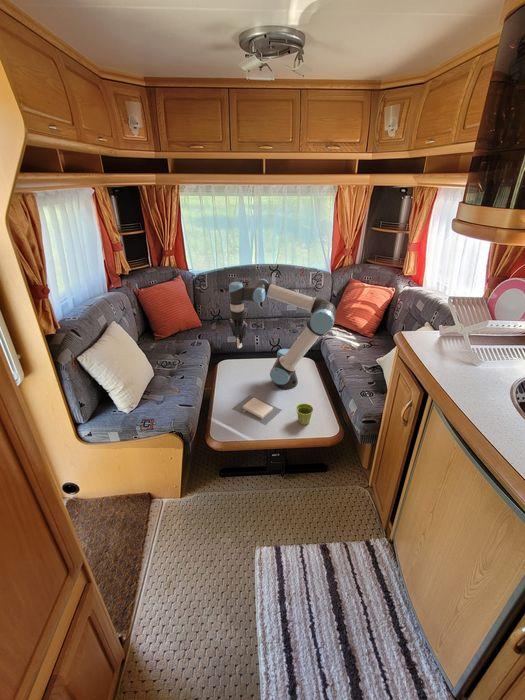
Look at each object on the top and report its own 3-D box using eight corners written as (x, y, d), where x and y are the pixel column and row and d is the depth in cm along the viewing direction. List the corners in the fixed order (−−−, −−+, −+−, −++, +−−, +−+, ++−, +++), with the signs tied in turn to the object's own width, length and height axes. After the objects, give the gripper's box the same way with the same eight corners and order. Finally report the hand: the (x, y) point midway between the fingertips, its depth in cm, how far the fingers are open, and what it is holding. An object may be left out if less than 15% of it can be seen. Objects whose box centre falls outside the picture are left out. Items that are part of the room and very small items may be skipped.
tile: (242, 406, 195) (262, 416, 188) (253, 397, 202) (273, 407, 195) (242, 408, 196) (262, 419, 189) (253, 399, 203) (273, 410, 196)
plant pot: (294, 415, 194) (295, 403, 189) (311, 415, 193) (312, 403, 189) (295, 426, 185) (296, 414, 181) (313, 427, 185) (314, 414, 181)
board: (231, 410, 198) (231, 407, 197) (249, 396, 210) (249, 394, 209) (265, 426, 186) (265, 423, 185) (282, 411, 197) (282, 408, 196)
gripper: (224, 309, 194) (227, 346, 205) (242, 314, 187) (244, 352, 198) (232, 305, 199) (235, 342, 210) (250, 310, 192) (252, 347, 203)
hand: (239, 347), depth 204 cm, fingers closed
